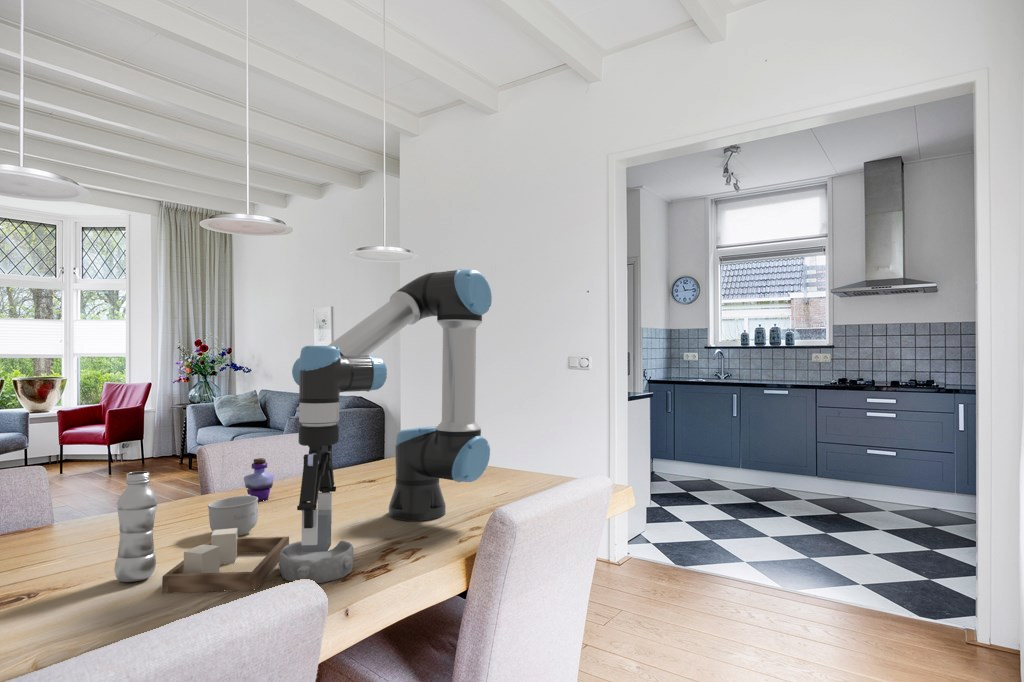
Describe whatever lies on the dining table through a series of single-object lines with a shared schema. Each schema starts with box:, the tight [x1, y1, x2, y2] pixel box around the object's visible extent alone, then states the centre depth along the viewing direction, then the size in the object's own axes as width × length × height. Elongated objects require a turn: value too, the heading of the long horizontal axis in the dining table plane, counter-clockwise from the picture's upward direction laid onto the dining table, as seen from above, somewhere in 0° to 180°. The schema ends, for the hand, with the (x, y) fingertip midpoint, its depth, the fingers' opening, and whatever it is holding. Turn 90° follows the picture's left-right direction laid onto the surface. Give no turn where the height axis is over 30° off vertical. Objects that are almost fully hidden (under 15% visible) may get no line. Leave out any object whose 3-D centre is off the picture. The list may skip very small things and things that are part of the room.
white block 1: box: [183, 543, 221, 574], centre depth 111 cm, size 4×4×6 cm
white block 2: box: [210, 528, 238, 565], centre depth 122 cm, size 4×4×6 cm
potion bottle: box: [243, 457, 276, 503], centre depth 173 cm, size 9×9×12 cm
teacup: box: [207, 494, 259, 537], centre depth 142 cm, size 14×11×8 cm
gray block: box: [303, 510, 332, 552], centre depth 116 cm, size 4×4×7 cm
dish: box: [278, 540, 355, 584], centre depth 116 cm, size 14×14×5 cm
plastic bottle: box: [113, 470, 159, 583], centre depth 111 cm, size 6×7×20 cm
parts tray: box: [161, 535, 290, 594], centre depth 117 cm, size 16×22×3 cm
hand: (317, 534), depth 116 cm, fingers open, 12 cm apart
